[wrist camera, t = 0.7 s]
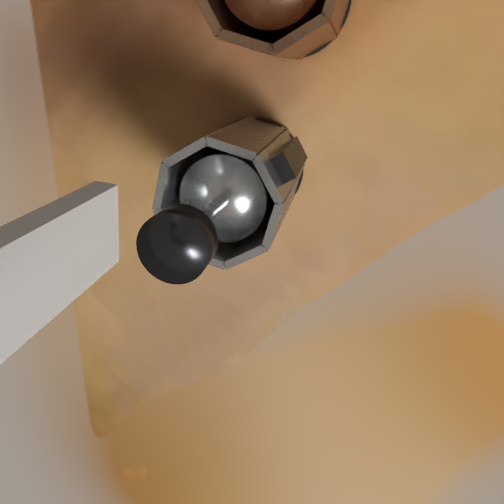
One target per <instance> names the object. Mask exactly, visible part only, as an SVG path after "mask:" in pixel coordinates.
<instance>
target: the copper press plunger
mask: <svg viewBox="0 0 504 504" xmlns="http://www.w3.org/2000/svg"><path fill="white" fill-rule="evenodd" d="M224 1H225V3H226V4H227V6H228V8H229V9H230V10H231V12H232V13H233V14H234V15H235V16H236V17H237V18H238V19H240V20H241V21H242V22H244V23H245V24H247V25H249V26H251V27H254V28H257V29H261V30H268V31H273V30H280V29H284V28H287V27H289V26H292V25H293V24H295V23H297V22H298V21H300V20H301V19H302V18H303V17H305V16H306V15H307V14H308V13H309V11H310V10H311V9H312V8H313V6H314V5H315V3H316V2H317V0H224Z"/></svg>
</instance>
